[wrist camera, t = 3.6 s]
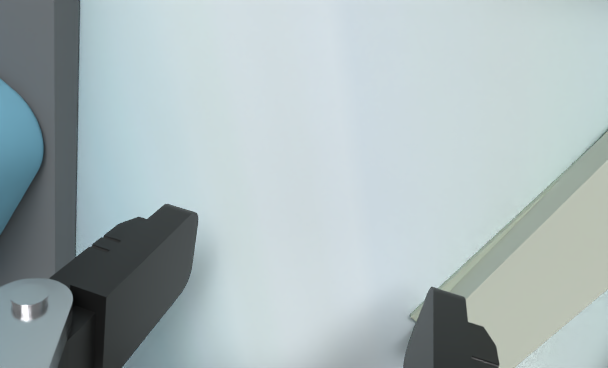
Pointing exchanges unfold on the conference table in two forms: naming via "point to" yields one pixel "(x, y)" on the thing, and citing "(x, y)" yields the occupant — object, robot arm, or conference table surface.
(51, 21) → the rubber mat
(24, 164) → the data package
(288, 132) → the conference table surface
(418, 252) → the conference table surface
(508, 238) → the beige rectangular bar
